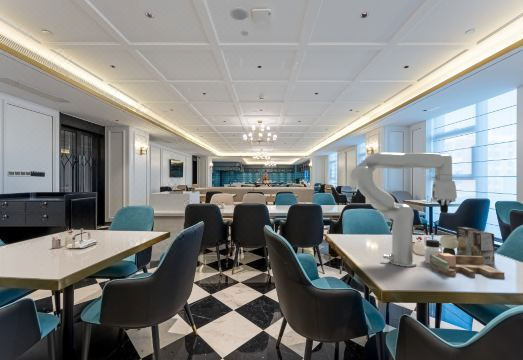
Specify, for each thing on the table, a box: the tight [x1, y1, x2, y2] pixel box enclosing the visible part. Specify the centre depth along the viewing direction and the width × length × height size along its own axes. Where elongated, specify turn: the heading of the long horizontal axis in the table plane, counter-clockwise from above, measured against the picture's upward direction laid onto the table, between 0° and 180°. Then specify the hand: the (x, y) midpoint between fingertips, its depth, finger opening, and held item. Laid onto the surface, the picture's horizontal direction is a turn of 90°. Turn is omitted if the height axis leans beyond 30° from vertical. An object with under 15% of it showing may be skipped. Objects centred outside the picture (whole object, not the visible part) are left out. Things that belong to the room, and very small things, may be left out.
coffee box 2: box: [471, 230, 496, 266], centre depth 138 cm, size 9×6×16 cm
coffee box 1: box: [456, 226, 479, 256], centre depth 152 cm, size 9×6×16 cm
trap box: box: [429, 254, 505, 279], centre depth 122 cm, size 24×14×6 cm, turn 82°
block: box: [438, 252, 456, 267], centre depth 125 cm, size 5×5×5 cm
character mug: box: [439, 234, 458, 255], centre depth 143 cm, size 11×7×13 cm, turn 10°
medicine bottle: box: [424, 238, 442, 264], centre depth 138 cm, size 7×7×12 cm
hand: (444, 212), depth 135 cm, fingers closed
